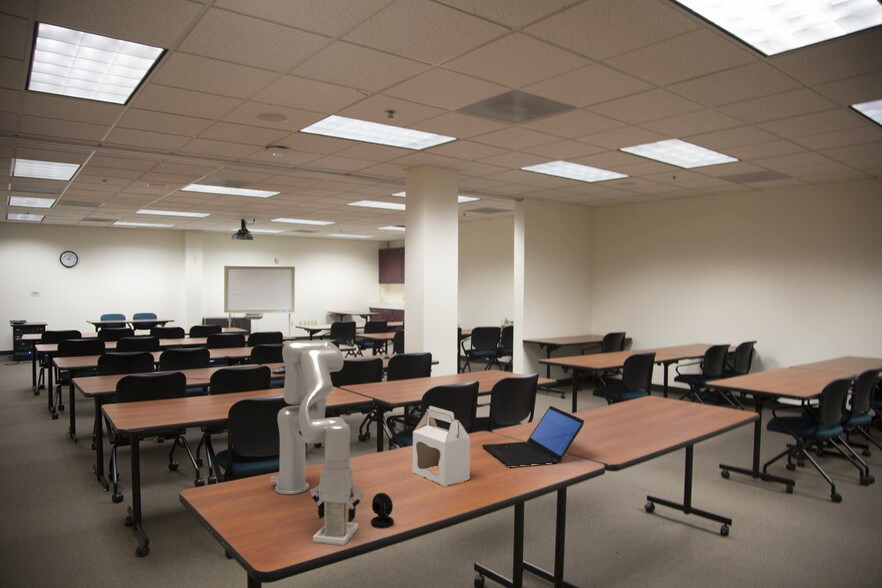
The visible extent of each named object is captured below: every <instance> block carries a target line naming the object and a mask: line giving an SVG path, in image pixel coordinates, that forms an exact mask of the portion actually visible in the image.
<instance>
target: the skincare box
mask: <svg viewBox="0 0 882 588" xmlns="http://www.w3.org/2000/svg"><path fill="white" fill-rule="evenodd" d="M346 522H347V503H333V502H325V501H324V525H325V536H344V535H345V533H346Z"/></svg>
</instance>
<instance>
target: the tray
mask: <svg viewBox="0 0 882 588" xmlns="http://www.w3.org/2000/svg"><path fill="white" fill-rule="evenodd" d="M358 530H359V523H357V522H356V523H355V522H347V521H346V533H345V535H344V536H325V524H324V525H322V527H321V528H319V530H318V531H316V533H315V534H314V535H313V536H312V543H313V542H315V544H322V543H325V544H324V545H331V544H332V545H333V546H340V545H343V546H342V547H345V546H346V545H345V544H348V542H349V541H350V540H351V539H352V537H353V536H354V535H355V534H356V533H357V531H358ZM355 532H356V533H355ZM354 533H355V534H354ZM353 534H354V535H353ZM350 538H351V539H350ZM349 539H350V540H349ZM348 540H349V541H348ZM344 545H345V546H344Z"/></svg>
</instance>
